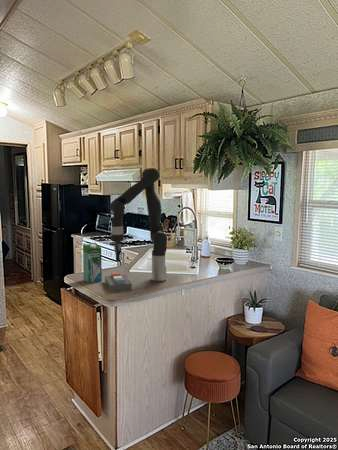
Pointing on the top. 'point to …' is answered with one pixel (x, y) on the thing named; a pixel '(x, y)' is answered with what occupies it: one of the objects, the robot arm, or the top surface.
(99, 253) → the milk carton
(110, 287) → the key panel
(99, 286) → the top surface
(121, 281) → the blue key
